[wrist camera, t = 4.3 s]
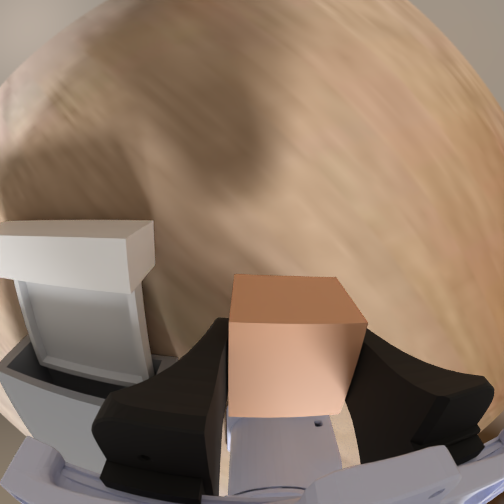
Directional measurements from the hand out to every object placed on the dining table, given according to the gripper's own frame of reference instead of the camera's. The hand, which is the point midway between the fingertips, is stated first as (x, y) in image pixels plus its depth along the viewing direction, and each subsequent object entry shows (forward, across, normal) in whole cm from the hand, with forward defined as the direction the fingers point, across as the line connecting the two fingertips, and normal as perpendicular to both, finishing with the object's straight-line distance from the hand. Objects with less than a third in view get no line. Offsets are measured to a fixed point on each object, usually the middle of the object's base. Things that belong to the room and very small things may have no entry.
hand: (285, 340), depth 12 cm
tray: (+8, +15, +3) cm, 17 cm away
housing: (+8, +15, +16) cm, 23 cm away
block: (+2, 0, 0) cm, 2 cm away
